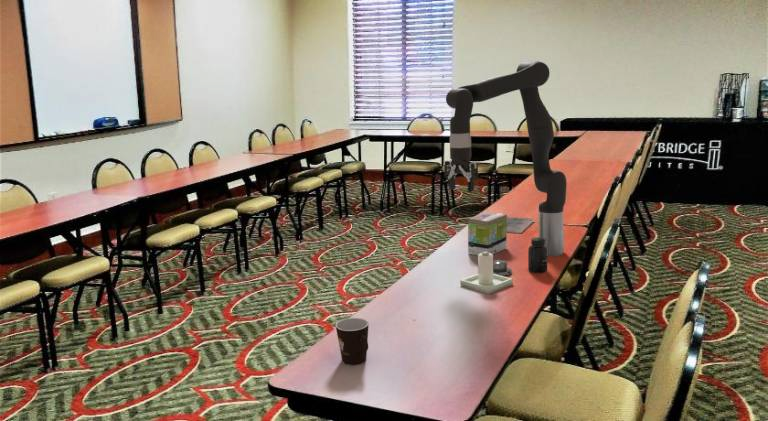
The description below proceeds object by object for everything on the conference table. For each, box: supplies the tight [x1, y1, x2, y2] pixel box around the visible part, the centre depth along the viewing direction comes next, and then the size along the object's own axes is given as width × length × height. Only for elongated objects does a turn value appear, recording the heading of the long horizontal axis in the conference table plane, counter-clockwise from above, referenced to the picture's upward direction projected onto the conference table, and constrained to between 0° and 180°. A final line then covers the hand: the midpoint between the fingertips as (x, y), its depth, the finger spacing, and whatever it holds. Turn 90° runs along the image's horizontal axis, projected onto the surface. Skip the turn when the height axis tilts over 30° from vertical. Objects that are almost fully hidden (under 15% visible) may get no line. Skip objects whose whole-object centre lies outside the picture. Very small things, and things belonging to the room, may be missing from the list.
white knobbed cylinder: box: [477, 252, 494, 285], centre depth 222 cm, size 5×5×11 cm
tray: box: [459, 273, 514, 295], centre depth 223 cm, size 13×13×2 cm
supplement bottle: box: [527, 236, 549, 274], centre depth 235 cm, size 7×7×12 cm
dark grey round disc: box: [493, 259, 513, 277], centre depth 235 cm, size 9×9×4 cm
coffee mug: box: [335, 317, 369, 366], centre depth 169 cm, size 12×9×10 cm
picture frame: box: [507, 216, 534, 234], centre depth 301 cm, size 16×2×22 cm
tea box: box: [467, 211, 508, 256], centre depth 261 cm, size 15×10×15 cm, turn 143°
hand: (461, 190), depth 234 cm, fingers open, 8 cm apart
